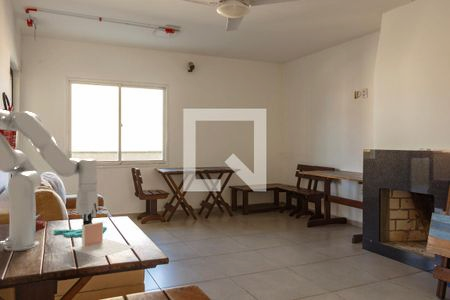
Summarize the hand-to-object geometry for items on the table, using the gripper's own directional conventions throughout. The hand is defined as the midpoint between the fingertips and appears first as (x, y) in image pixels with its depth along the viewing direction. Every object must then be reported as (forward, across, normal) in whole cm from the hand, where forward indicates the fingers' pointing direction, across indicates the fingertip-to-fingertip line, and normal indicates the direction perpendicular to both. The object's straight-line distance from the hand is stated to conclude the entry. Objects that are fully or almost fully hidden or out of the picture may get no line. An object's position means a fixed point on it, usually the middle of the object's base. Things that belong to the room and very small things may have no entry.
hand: (87, 228), depth 153 cm
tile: (+6, +4, 0) cm, 7 cm away
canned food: (+7, -47, +1) cm, 48 cm away
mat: (+7, +11, 0) cm, 13 cm away
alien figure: (+7, -17, +10) cm, 21 cm away
